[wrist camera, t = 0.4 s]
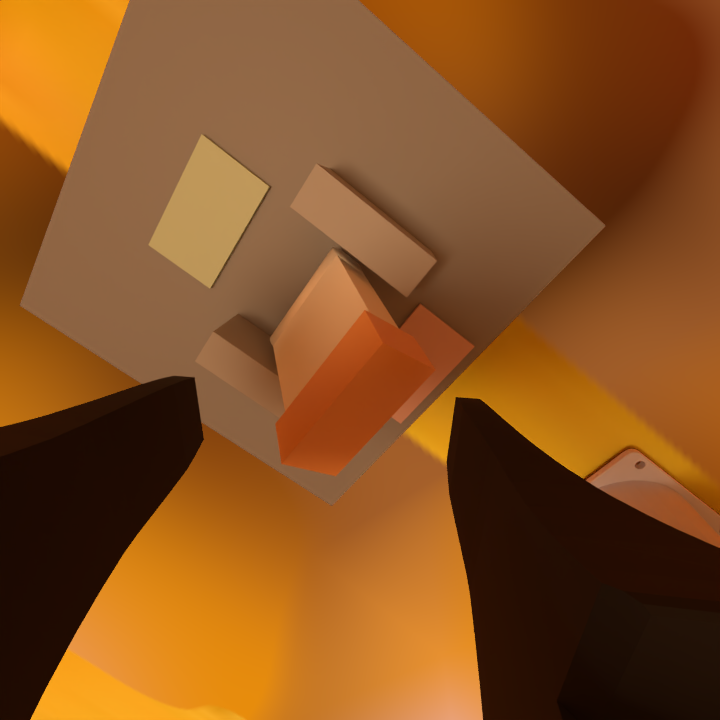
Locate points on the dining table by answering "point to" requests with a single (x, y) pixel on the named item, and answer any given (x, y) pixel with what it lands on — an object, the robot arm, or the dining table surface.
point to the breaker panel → (288, 207)
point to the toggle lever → (340, 368)
